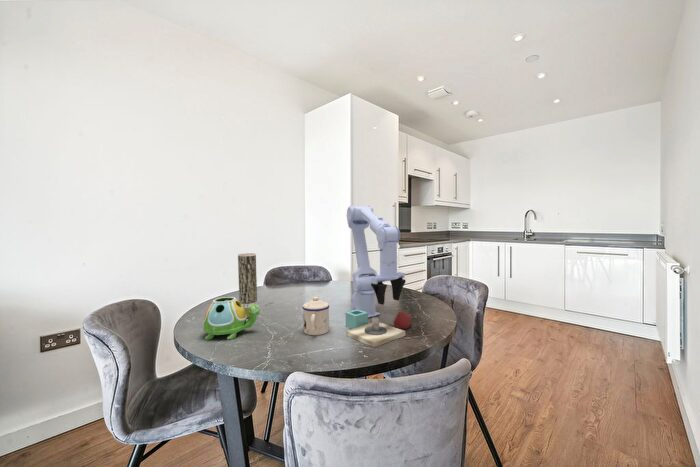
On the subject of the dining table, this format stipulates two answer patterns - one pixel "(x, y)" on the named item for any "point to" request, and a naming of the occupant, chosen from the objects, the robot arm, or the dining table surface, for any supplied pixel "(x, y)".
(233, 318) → the turtle holder
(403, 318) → the fruit
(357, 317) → the collar
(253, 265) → the bark log
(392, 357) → the dining table surface
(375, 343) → the post base
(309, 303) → the teacup with lid
